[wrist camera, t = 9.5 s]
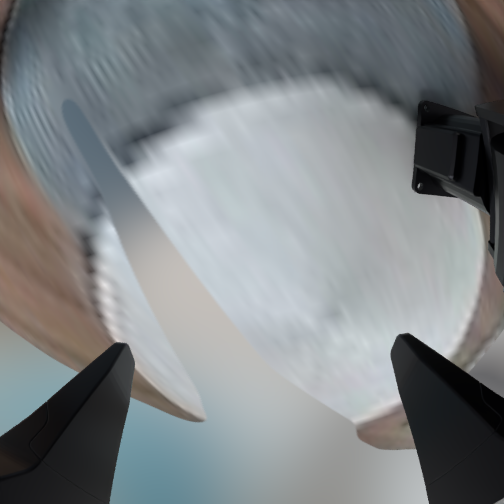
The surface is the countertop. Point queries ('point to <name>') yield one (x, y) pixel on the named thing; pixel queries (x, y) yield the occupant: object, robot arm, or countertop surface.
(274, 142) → the countertop surface
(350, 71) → the countertop surface
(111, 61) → the countertop surface
